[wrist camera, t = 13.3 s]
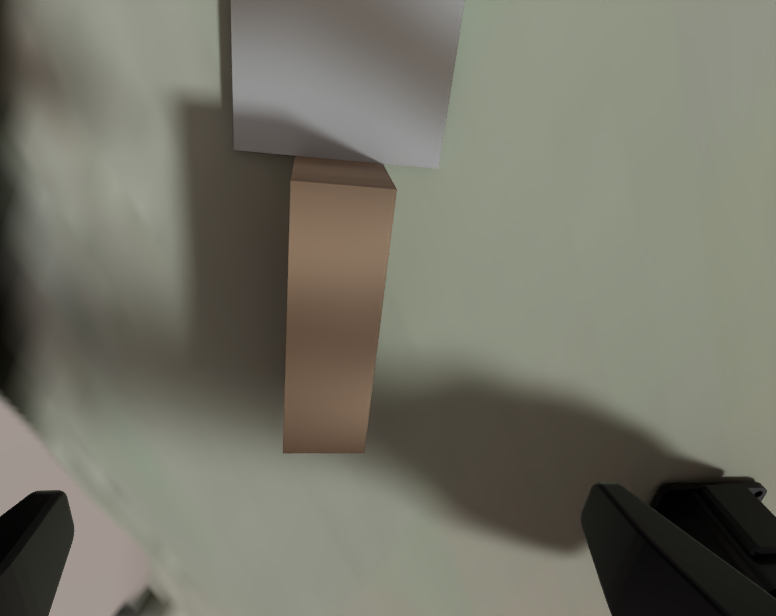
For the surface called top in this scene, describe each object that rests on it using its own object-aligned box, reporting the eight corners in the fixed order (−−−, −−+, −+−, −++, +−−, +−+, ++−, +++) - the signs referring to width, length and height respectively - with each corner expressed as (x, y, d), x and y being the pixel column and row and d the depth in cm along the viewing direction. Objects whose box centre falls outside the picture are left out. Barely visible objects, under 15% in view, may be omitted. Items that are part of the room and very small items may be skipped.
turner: (401, 389, 23) (416, 452, 19) (240, 386, 22) (226, 453, 18) (478, -112, 15) (529, -160, 11) (229, -159, 14) (199, -228, 10)
